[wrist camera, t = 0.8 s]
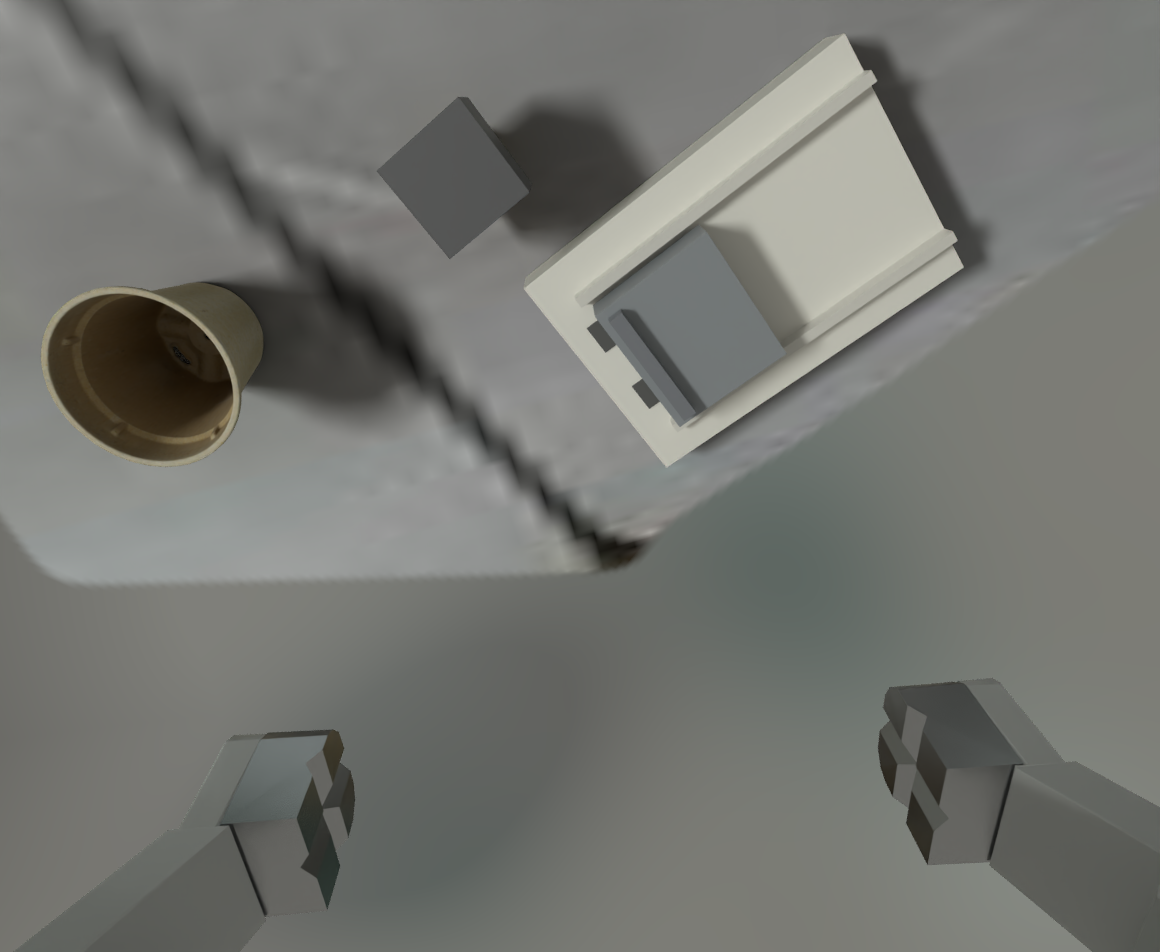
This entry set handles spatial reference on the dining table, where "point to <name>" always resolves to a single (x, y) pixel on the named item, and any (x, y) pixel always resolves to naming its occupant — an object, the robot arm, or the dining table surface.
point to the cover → (688, 326)
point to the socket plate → (766, 236)
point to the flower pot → (152, 368)
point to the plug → (456, 176)
